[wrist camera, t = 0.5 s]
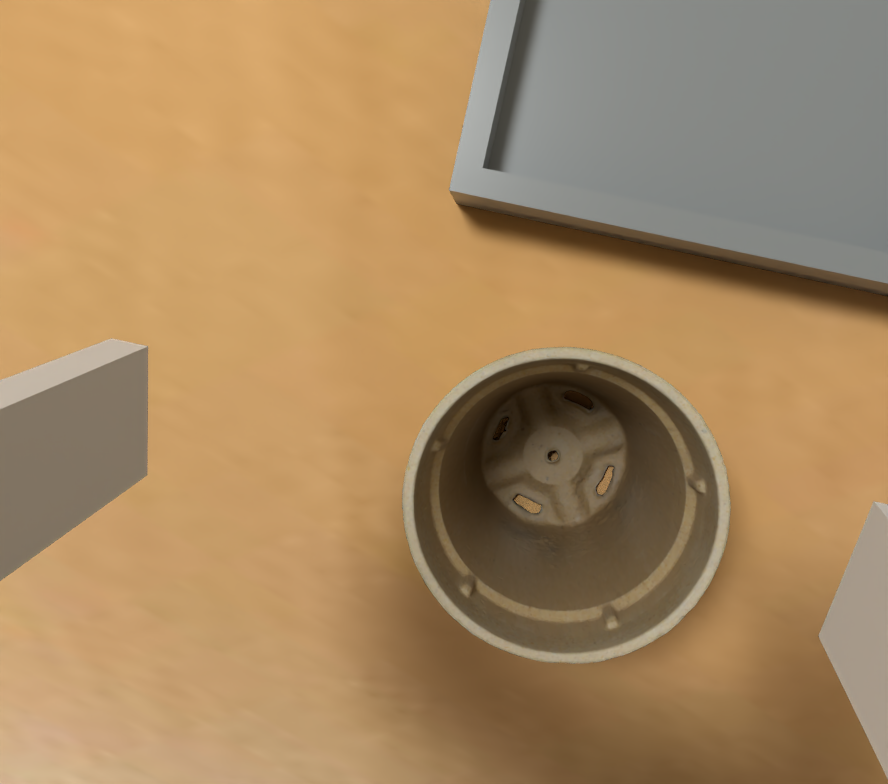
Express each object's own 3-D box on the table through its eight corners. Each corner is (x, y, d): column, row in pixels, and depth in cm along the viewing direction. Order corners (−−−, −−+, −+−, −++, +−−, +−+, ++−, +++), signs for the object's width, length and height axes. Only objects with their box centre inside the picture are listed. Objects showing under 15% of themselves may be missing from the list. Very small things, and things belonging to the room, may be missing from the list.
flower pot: (434, 557, 30) (398, 653, 21) (438, 335, 29) (403, 342, 20) (660, 570, 29) (719, 677, 20) (674, 341, 28) (741, 351, 19)
